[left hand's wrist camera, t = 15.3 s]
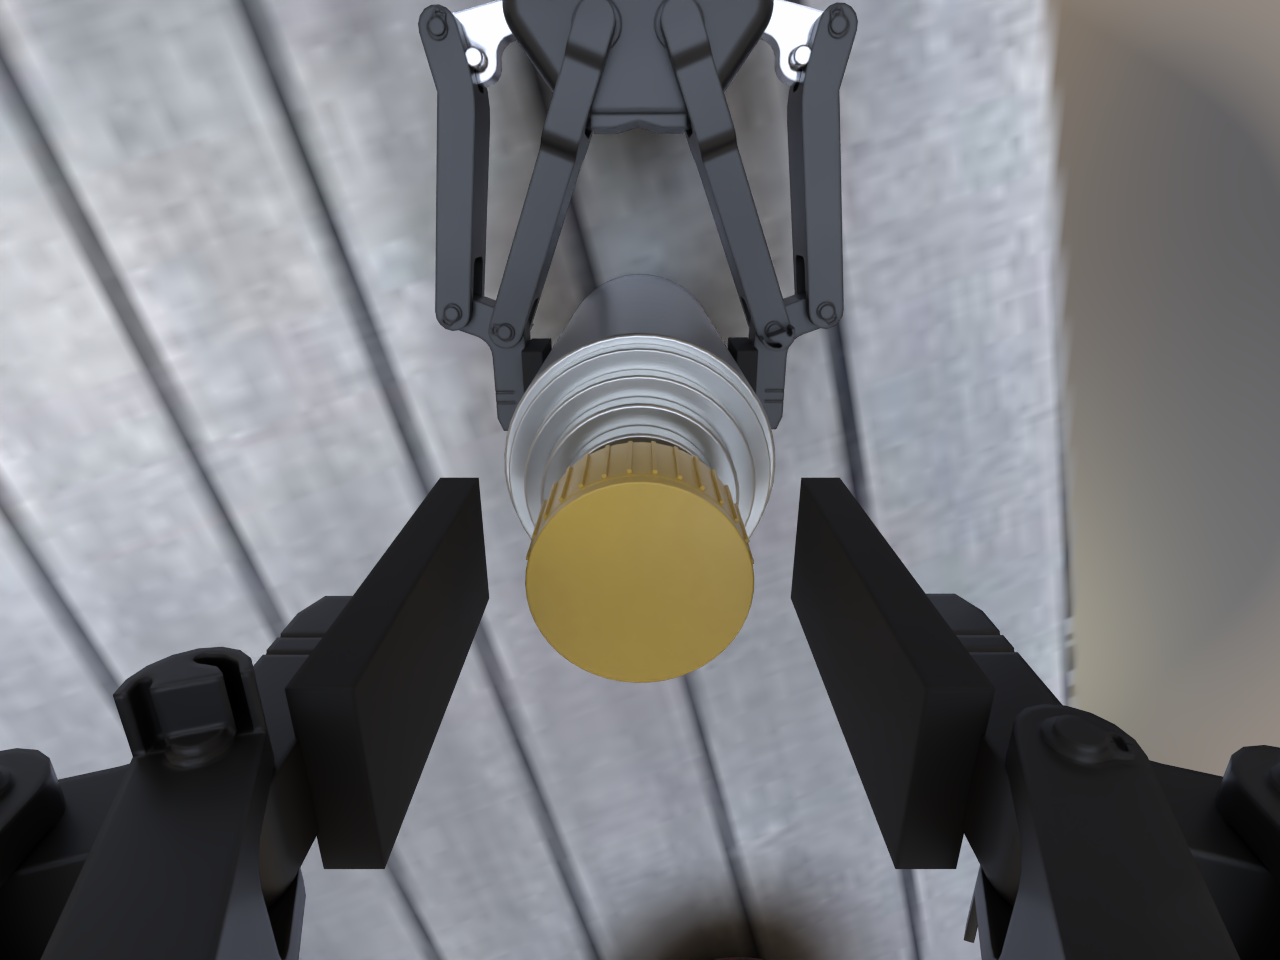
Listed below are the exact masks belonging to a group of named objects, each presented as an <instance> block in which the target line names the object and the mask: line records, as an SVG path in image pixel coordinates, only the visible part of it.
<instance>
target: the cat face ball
mask: <svg viewBox="0 0 1280 960" xmlns="http://www.w3.org/2000/svg"><path fill="white" fill-rule="evenodd" d="M713 960H763V959H757V958H749V957H728V958H720V959H713Z"/></svg>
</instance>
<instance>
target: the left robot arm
mask: <svg viewBox="0 0 1280 960" xmlns="http://www.w3.org/2000/svg"><path fill="white" fill-rule="evenodd" d="M488 600H489V590H488V579H487V568H486V556H485V545H484V534H483V522H482V511H481V500H480V488H479V478H440V479H439V480H438V482H437V483H436V484H435V486H434V487H433V488H432V490H431V491H430V492H429V494H428V495H427V497H426V498H425V499H424V501H423V502H422V503H421V505H420V506H419V507H418V509H417V510H416V511H415V513H414V514H413V515H412V517H411V518H410V520H409V521H408V522H407V524H406V525H405V526H404V528H403V529H402V530H401V532H400V533H399V534H398V536H397V537H396V538H395V540H394V541H393V543H392V544H391V545H390V547H389V548H388V549H387V551H386V552H385V553H384V555H383V556H382V557H381V559H380V560H379V561H378V563H377V564H376V566H375V567H374V568H373V570H372V571H371V572H370V574H369V575H368V576H367V578H366V579H365V580H364V582H363V583H362V584H361V586H360V587H359V589H358V590H357V591H356V593H355V594H354V595H353V596H325V597H323V598H322V599H320V600H318V601H317V602H315V603H314V604H312V605H310V606H309V607H307V608H306V609H304V610H302V611H301V612H299V613H298V614H297V615H296V616H295V617H294V619H293V620H292V621H291V622H290V623H289V624H288V626H287V627H286V628H285V629H284V630H283V632H282V633H281V637H280V638H277V639H276V640H275V641H274V642H273V643H272V645H271V646H270V647H269V648H268V649H267V653H266V655H262V657H261V658H260V659H259V660H258V661H257V662H256V664H255V665H254V666H253V664H252V660H251V658H250V657H249V656H247V655H246V654H245V653H243V652H242V651H241V650H236V649H231V648H226V647H213V648H199V649H195V650H191V651H187V652H183V653H179V654H175V655H172V656H169V657H167V658H165V659H162V660H160V661H157V662H155V663H153V664H150V665H148V666H146V667H145V668H143V669H142V670H140V671H139V672H137V673H136V674H134V675H133V676H131V677H130V678H128V679H127V680H125V682H124V683H123V684H122V685H121V686H120V687H119V688H118V690H117V691H116V692H115V693H114V694H113V697H114V700H115V703H116V706H117V709H118V712H119V715H120V718H121V722H122V725H123V728H124V731H125V734H126V737H127V740H128V743H129V746H130V749H131V752H132V755H133V758H132V760H131V763H130V764H127V765H123V766H120V767H115V768H111V769H106V770H101V771H97V772H92V773H87V774H83V775H78V776H73V777H69V778H64V779H59V780H58V779H57V777H56V774H55V771H54V769H53V766H52V764H51V761H50V758H48V757H47V756H46V755H44V754H43V753H41V752H40V751H38V750H31V749H20V748H16V749H10V750H4V751H0V960H298V959H299V950H300V941H301V933H302V924H303V915H304V906H305V898H306V895H305V888H304V881H303V876H302V872H301V868H300V867H301V865H302V863H303V861H304V859H305V857H306V855H307V853H308V851H309V849H310V847H311V845H312V843H313V841H314V839H315V838H316V836H317V839H318V844H319V849H320V853H321V858H322V862H323V867H324V869H385V866H386V864H387V861H388V859H389V856H390V853H391V851H392V848H393V846H394V843H395V840H396V838H397V835H398V833H399V830H400V828H401V825H402V822H403V820H404V817H405V815H406V812H407V809H408V807H409V804H410V802H411V799H412V796H413V794H414V791H415V789H416V786H417V784H418V781H419V778H420V776H421V773H422V771H423V768H424V765H425V763H426V760H427V758H428V755H429V752H430V750H431V747H432V745H433V742H434V740H435V737H436V734H437V732H438V729H439V727H440V724H441V721H442V719H443V716H444V714H445V711H446V708H447V706H448V703H449V701H450V698H451V696H452V693H453V690H454V688H455V685H456V683H457V680H458V677H459V675H460V672H461V670H462V667H463V664H464V662H465V659H466V657H467V654H468V652H469V649H470V646H471V644H472V641H473V639H474V636H475V633H476V631H477V628H478V626H479V623H480V620H481V618H482V615H483V613H484V610H485V608H486V605H487V602H488ZM791 600H792V602H793V605H794V608H795V610H796V613H797V615H798V618H799V620H800V623H801V626H802V628H803V631H804V633H805V636H806V639H807V641H808V644H809V646H810V649H811V652H812V654H813V657H814V659H815V662H816V664H817V667H818V670H819V672H820V675H821V677H822V680H823V683H824V685H825V688H826V690H827V693H828V696H829V698H830V701H831V703H832V706H833V708H834V711H835V714H836V716H837V719H838V721H839V724H840V727H841V729H842V732H843V734H844V737H845V740H846V742H847V745H848V747H849V750H850V752H851V755H852V758H853V760H854V763H855V765H856V768H857V771H858V773H859V776H860V778H861V781H862V784H863V786H864V789H865V791H866V794H867V796H868V799H869V802H870V804H871V807H872V809H873V812H874V815H875V817H876V820H877V822H878V825H879V828H880V830H881V833H882V835H883V838H884V840H885V843H886V846H887V848H888V851H889V853H890V856H891V859H892V861H893V864H894V866H895V869H956V867H957V862H958V858H959V853H960V849H961V844H962V839H963V835H964V834H965V836H966V838H967V840H968V842H969V844H970V846H971V847H972V849H973V851H974V853H975V855H976V857H977V859H978V861H979V863H980V868H979V872H978V876H977V881H976V885H975V889H974V893H973V898H972V902H971V906H970V910H969V915H968V919H967V923H966V929H965V936H964V940H965V941H969V942H972V943H974V940H975V936H976V932H977V928H978V931H979V939H980V948H981V957H982V960H1280V748H1279V747H1272V746H1267V745H1260V746H1249V747H1243V748H1241V749H1240V750H1238V751H1237V752H1235V753H1234V754H1233V755H1232V756H1231V758H1230V761H1229V764H1228V766H1227V769H1226V771H1225V774H1224V777H1222V776H1217V775H1212V774H1208V773H1203V772H1198V771H1193V770H1189V769H1184V768H1179V767H1175V766H1170V765H1165V764H1161V763H1157V762H1154V761H1150V760H1149V759H1148V757H1147V755H1146V754H1145V753H1144V751H1143V750H1142V749H1141V747H1140V746H1139V745H1138V743H1137V742H1136V741H1135V740H1134V739H1133V738H1132V737H1131V736H1129V735H1128V734H1127V733H1125V732H1124V731H1123V730H1121V729H1120V728H1119V727H1117V726H1116V725H1115V724H1113V723H1111V722H1109V721H1107V720H1104V719H1102V718H1100V717H1098V716H1096V715H1094V714H1092V713H1089V712H1086V711H1083V710H1079V709H1076V708H1072V707H1069V706H1063V705H1062V704H1061V703H1060V702H1059V700H1058V699H1057V698H1056V697H1055V696H1054V695H1053V693H1052V692H1051V691H1050V690H1049V689H1048V687H1047V686H1046V685H1045V684H1044V683H1043V682H1042V680H1041V679H1040V678H1039V677H1038V676H1037V675H1036V673H1035V672H1034V671H1033V670H1032V669H1031V667H1030V666H1029V665H1028V664H1027V663H1026V662H1025V660H1024V659H1023V658H1022V657H1021V656H1020V654H1019V653H1018V652H1014V647H1013V646H1012V645H1011V644H1010V643H1009V642H1008V640H1007V639H1006V638H1005V637H1004V636H1003V635H1000V631H999V630H998V629H997V627H996V626H995V625H994V624H993V623H992V622H991V620H990V619H989V618H988V617H987V616H986V614H985V613H984V612H983V611H982V610H980V609H979V608H977V607H975V606H974V605H972V604H971V603H969V602H967V601H966V600H964V599H963V598H961V597H959V596H958V595H956V594H925V593H924V591H923V590H922V589H921V587H920V586H919V584H918V583H917V582H916V580H915V579H914V578H913V576H912V575H911V574H910V572H909V571H908V570H907V568H906V567H905V566H904V564H903V563H902V561H901V560H900V559H899V557H898V556H897V555H896V553H895V552H894V551H893V549H892V548H891V547H890V545H889V544H888V543H887V541H886V540H885V538H884V537H883V536H882V534H881V533H880V532H879V530H878V529H877V528H876V526H875V525H874V524H873V522H872V521H871V520H870V518H869V517H868V515H867V514H866V513H865V511H864V510H863V509H862V507H861V506H860V505H859V503H858V502H857V501H856V499H855V498H854V497H853V495H852V494H851V492H850V491H849V490H848V488H847V487H846V486H845V484H844V483H843V482H842V480H841V479H840V478H801V488H800V500H799V511H798V522H797V534H796V545H795V556H794V568H793V579H792V590H791Z"/></svg>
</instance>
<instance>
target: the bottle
mask: <svg viewBox="0 0 1280 960" xmlns="http://www.w3.org/2000/svg"><path fill="white" fill-rule="evenodd" d="M628 441H633V442H648V443H651V441H655V442H656V443H657V444H662V445H666V446H671V447H674V446H676V447H678V449H679V450H682V451H684V452H686V453H688V454H690V455H692V456H695V455H696V456H697V457H698V458H699V460H700V461H701V462H702V463H704V464H705V465H706V466H708V467H709V468H710V469H711V470H712V469H714V470H715V471H716V474H717V476H718V478H719V479H720V480H721V481H722V482H723V484H724V486H725V485H728V487H729V489H730V492H731V495H732V499H733V502H734V504H735V503H737V505H738V508H739V511H740V514H741V517H742V520H743V523H744V527H745V530H746V533H747V536H748V539H749V538H750V537H751V535H752V533H753V532H754V530H755V528H756V526H757V525H758V523H759V521H760V518H761V516H762V515H763V512H764V510H765V508H766V505H767V503H768V500H769V497H770V494H771V490H772V486H773V481H774V473H775V447H774V441H773V434H772V430H771V427H770V424H769V421H768V418H767V415H766V413H765V411H764V409H763V407H762V405H761V402H760V400H759V399H758V397H757V396H756V394H755V392H754V391H753V389H752V387H751V386H750V384H749V383H748V381H747V379H746V378H745V376H744V375H743V373H742V371H741V370H740V368H739V366H738V365H737V363H736V362H735V360H734V358H733V357H732V355H731V354H730V352H729V350H728V349H727V347H726V346H725V344H724V342H723V341H722V339H721V337H720V336H719V334H718V333H717V331H716V329H715V328H714V326H713V325H712V323H711V321H710V320H709V318H708V316H707V315H706V313H705V312H704V310H703V309H702V307H701V306H700V304H699V303H698V302H697V301H696V299H695V298H694V297H693V296H692V295H691V294H690V293H688V292H687V291H686V290H685V289H683V288H682V287H680V286H679V285H677V284H675V283H673V282H671V281H669V280H667V279H664V278H661V277H657V276H652V275H640V274H637V275H627V276H623V277H619V278H616V279H613V280H611V281H608V282H606V283H605V284H603V285H601V286H599V287H598V288H597V289H595V290H594V291H592V292H591V293H590V294H589V295H588V296H587V297H586V298H585V299H584V300H583V302H582V303H581V304H580V305H579V307H578V308H577V310H576V311H575V313H574V315H573V316H572V318H571V319H570V321H569V323H568V324H567V326H566V327H565V329H564V331H563V332H562V334H561V336H560V337H559V339H558V340H557V342H556V344H555V345H554V347H553V348H552V350H551V352H550V353H549V355H548V356H547V358H546V360H545V361H544V363H543V364H542V366H541V368H540V369H539V371H538V373H537V374H536V376H535V377H534V379H533V381H532V382H531V384H530V385H529V387H528V389H527V390H526V392H525V394H524V395H523V397H522V399H521V400H520V402H519V404H518V405H517V408H516V410H515V412H514V415H513V417H512V420H511V422H510V426H509V430H508V434H507V438H506V445H505V454H504V460H505V476H506V482H507V488H508V491H509V494H510V498H511V501H512V504H513V506H514V508H515V511H516V513H517V515H518V517H519V519H520V521H521V523H522V525H523V527H524V529H525V531H526V532H527V534H528V535H529V537H530V538H531V540H532V535H533V532H534V528H535V525H536V522H537V519H538V516H539V513H540V510H541V507H542V504H543V501H544V500H548V497H549V495H550V491H551V488H552V485H553V483H554V482H558V481H559V479H560V478H561V477H562V476H563V475H564V474H565V473H566V469H567V467H568V466H571V467H572V466H573V465H575V464H576V463H577V462H578V461H580V460H581V459H583V458H584V456H585V454H587V453H589V455H590V454H591V453H594V452H596V451H598V450H601V449H603V448H605V447H606V445H610V446H613V445H617V444H623V443H628Z"/></svg>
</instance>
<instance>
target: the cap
mask: <svg viewBox="0 0 1280 960" xmlns="http://www.w3.org/2000/svg"><path fill="white" fill-rule="evenodd" d="M748 542H749V539H748V536H747V533H746V530H745V527H744V523H743V520H742V517H741V514H740V511H739V508H738V505H737V503H735V504H734V502H733V499H732V495H731V492H730V489H729V487H728V485H725V486H724V484H723V482H722V481H721V480H720V479H719V478H718V476H717V474H716V471H715V470H714V469H712V470H711V469H710V468H709V467H708V466H706V465H705V464H704V463H702V462H701V461H700V460H699V458H698V457H697V456H696V455H695V456H692V455H690V454H688V453H686V452H684V451H682V450H679V449H678V447H676V446H674V447H671V446H666V445H662V444H657V443H656V442H655V441H651V443H648V442H633V441H628V443H623V444H617V445H613V446H610V445H606V447H605V448H603V449H601V450H598V451H596V452H594V453H591V454H590V455H589V453H587V454H585V456H584V458H583V459H581V460H580V461H578V462H577V463H576V464H575V465H573V466H572V467H571V466H568V467H567V469H566V473H565V474H564V475H563V476H562V477H561V478H560V479H559V481H558V482H554V483H553V485H552V488H551V491H550V495H549V497H548V500H544V501H543V504H542V507H541V510H540V513H539V516H538V519H537V522H536V525H535V528H534V532H533V535H532V541H531V544H530V547H529V550H528V553H527V556H526V560H528V563H527V568H526V581H525V586H526V595H527V600H528V604H529V608H530V611H531V614H532V616H533V619H534V621H535V623H536V625H537V626H538V628H539V630H540V632H541V633H542V635H543V636H544V637H545V639H546V640H547V641H548V642H549V644H550V645H551V646H552V647H553V648H554V649H555V650H556V651H557V652H558V653H559V654H561V655H562V656H563V657H565V658H566V659H567V660H568V661H570V662H571V663H573V664H575V665H576V666H578V667H580V668H581V669H583V670H586V671H588V672H590V673H592V674H595V675H598V676H601V677H604V678H607V679H612V680H617V681H622V682H634V683H642V682H656V681H663V680H668V679H672V678H676V677H679V676H682V675H684V674H687V673H690V672H692V671H694V670H696V669H698V668H700V667H702V666H704V665H705V664H707V663H708V662H710V661H711V660H713V659H714V658H715V657H716V656H718V655H719V654H720V653H721V652H722V651H723V650H725V648H726V647H727V646H728V645H729V644H730V643H731V642H732V641H733V640H734V638H735V637H736V635H737V634H738V632H739V631H740V629H741V628H742V626H743V624H744V622H745V620H746V618H747V615H748V613H749V610H750V607H751V603H752V598H753V592H754V572H753V564H754V560H753V557H752V554H751V551H750V548H749V544H748Z"/></svg>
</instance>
